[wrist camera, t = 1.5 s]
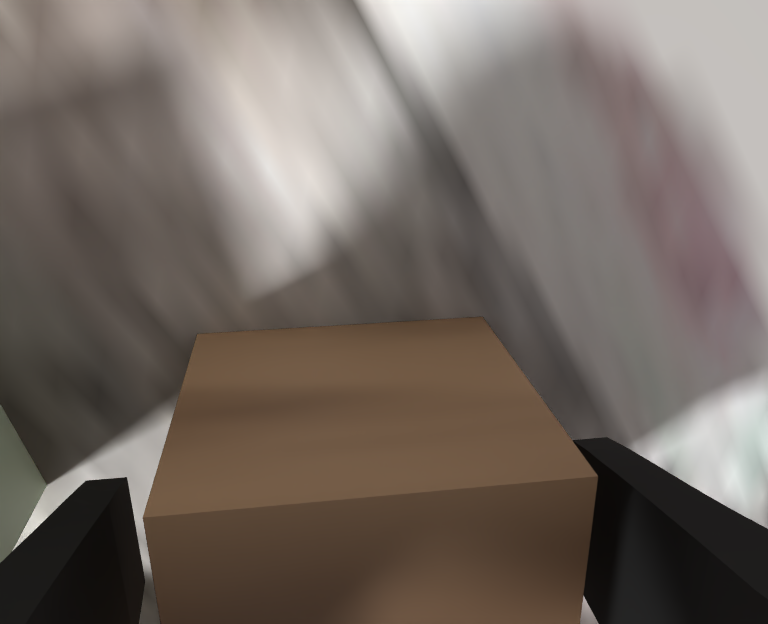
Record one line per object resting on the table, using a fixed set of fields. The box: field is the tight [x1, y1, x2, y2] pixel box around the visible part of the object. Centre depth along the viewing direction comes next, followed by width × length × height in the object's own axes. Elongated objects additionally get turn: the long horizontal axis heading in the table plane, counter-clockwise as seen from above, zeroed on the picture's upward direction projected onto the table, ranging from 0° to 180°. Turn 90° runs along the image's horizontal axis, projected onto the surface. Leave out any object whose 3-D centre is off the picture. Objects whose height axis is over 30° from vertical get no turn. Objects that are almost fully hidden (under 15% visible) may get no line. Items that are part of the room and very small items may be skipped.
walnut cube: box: [143, 317, 598, 624], centre depth 11 cm, size 5×5×5 cm
